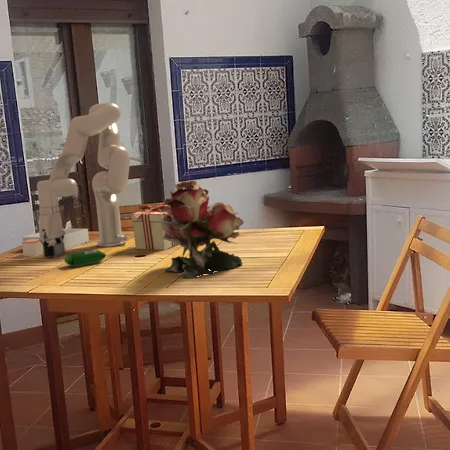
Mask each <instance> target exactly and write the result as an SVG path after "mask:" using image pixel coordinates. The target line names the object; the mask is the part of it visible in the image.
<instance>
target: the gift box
mask: <svg viewBox="0 0 450 450" xmlns="http://www.w3.org/2000/svg"><path fill="white" fill-rule="evenodd" d="M166 207H167V205H164V204H163V205H162V204H161V205H158V206H156V207H154V206H152V205H141V206H139V207H138V209H140V210H139V211H137V212H134V213H131V214H130V215H131V222H132V227H133V234H134V245H135V250H144V251H145V250H147V251H167V250H168V249H171V248H173V247H176V246H178V244H176V243H174V242H171V241H168V240H165V239H162V238H163V237H164V231H163V228H162V225H161V223H162V222H163V221H162V219H164V217H165V216H167V209H165V208H166Z"/></svg>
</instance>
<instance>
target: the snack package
mask: <svg viewBox="0 0 450 450" xmlns="http://www.w3.org/2000/svg"><path fill="white" fill-rule="evenodd" d="M106 257H107V255H106V253H105V252H103V251H100V249H99V250H98V249H96V248H95V249H94V248H91V249H84V250H77V251H73V252H72V251H71V252H69V253H67V254H65V258H64V263H65V264H66V265H69V266H70V267H72V268H80V267H85V266H91V265H95V264H98V263H101V262H102V261H103V260H104V259H105V258H106Z"/></svg>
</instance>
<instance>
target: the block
mask: <svg viewBox="0 0 450 450" xmlns="http://www.w3.org/2000/svg"><path fill="white" fill-rule="evenodd" d="M50 247H52V254H53V256H51V257H50V258H59V257H61V256H64V255H65V256H66V250H65V248H64V243H51V245H50ZM43 252H44V253H43V258H48V257H47V256H45V249H44V247H43Z"/></svg>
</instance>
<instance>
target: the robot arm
mask: <svg viewBox="0 0 450 450" xmlns="http://www.w3.org/2000/svg"><path fill="white" fill-rule="evenodd" d="M120 117H121V109H120V107H119V106H118V105H117V104H116V103H114V102H105V103H96V104H94V105H92V106H91V107H90V108H89V110H88V114H85V115H79V116H75V117H73V118H72V119H71V121H70V123H69V126H68V129H67V132H66V137H65V140H64V141H65V142H64V145H63V148H62V151H61V153H60V154H59V156H58V158H57V159H56V161H55V162H54V165H53V167H52V169H51V172H50V176H49V179H46V180H39V181H37V183H36V189H37V197H38V206H39V217H38V233H39V235H40V238H39V241H40V242H41V243H42V245H43V247H44V249H45V256H47V257H46V258H52V257H51V256H53V254H52V247H50V245H51V240H52V239H55V241H56V243H63V239H64V235H65V231H64V230H63V229H64V227H63V221H62V217H61V213H60V207H59V205H60V204H59V197H72V196H74V195H75V194H76V192H77V191H78V189H79V188H78V183H77V182H76V180H74V179H72V178H70V177H68V176H69V174H70V171H71V170H72V168H73V167H74V166H75V165H76V164H77V163H78V162H79V161H81V160H82V159H83V158H84V155H85V152H86V148H87V144H88V143H87V142H88V140H89V137H93V136H96V135H98V134H99V141H98V150H97V163H98V164H99V166H100V167H102V168H104V169H107V170H106V171H104V170H103V171H99V172H97V173H96V174H95V175H94V176H93V178H92V181H91V186H92V190H93V195H94V198H95V204H96V214H97V216H96V217H97V223H98V224H97V226H98V234H99V241H97V242H96V246H97V247H102V248H105V247H116V246H122V245H125V244H126V243H127V241H129V239H130V235H125V232H122V223H121V215H120V204H119V202H120V201H119V199H118V195H120V194H122V193H124V192H125V190H126V188H127V186H128V181H129V174H130V173H129V172H130V163H131V162H130V161H131V158H130V154H129V151H128V150H127V149H126V148H125V147H124V146H121V145H120V138H121V137H120V136H121V135H120V130H119V129H120V128H119V127H118V125H117V123H116V122H118V121H119V119H120ZM47 241H48V243H47Z"/></svg>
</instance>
